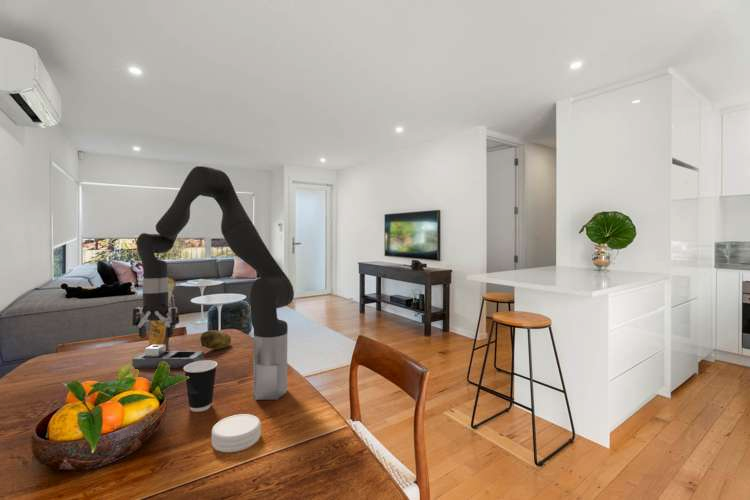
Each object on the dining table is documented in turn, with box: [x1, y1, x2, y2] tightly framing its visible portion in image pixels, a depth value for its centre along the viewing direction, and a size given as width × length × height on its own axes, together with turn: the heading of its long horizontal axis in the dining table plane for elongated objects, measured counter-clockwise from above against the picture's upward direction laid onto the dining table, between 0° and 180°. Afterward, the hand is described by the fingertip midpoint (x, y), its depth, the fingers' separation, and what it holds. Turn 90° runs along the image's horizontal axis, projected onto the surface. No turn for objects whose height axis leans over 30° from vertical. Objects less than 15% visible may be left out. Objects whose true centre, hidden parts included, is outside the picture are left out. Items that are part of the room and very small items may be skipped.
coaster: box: [211, 413, 262, 453], centre depth 77 cm, size 10×10×4 cm
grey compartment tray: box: [131, 350, 205, 369], centre depth 121 cm, size 8×20×3 cm, turn 94°
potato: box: [200, 329, 232, 350], centre depth 138 cm, size 8×13×8 cm, turn 139°
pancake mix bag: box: [148, 276, 177, 350], centre depth 141 cm, size 7×19×28 cm, turn 44°
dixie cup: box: [182, 359, 218, 412], centre depth 91 cm, size 8×8×11 cm
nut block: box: [144, 345, 167, 358], centre depth 121 cm, size 4×4×6 cm
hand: (156, 337), depth 121 cm, fingers open, 8 cm apart
